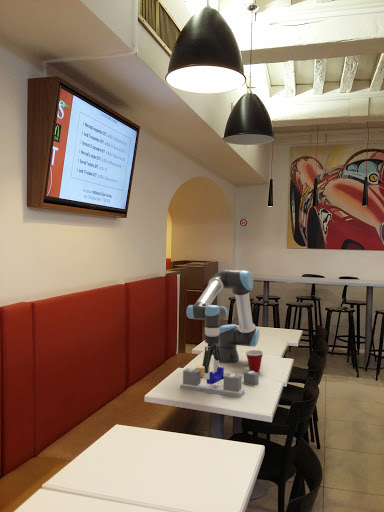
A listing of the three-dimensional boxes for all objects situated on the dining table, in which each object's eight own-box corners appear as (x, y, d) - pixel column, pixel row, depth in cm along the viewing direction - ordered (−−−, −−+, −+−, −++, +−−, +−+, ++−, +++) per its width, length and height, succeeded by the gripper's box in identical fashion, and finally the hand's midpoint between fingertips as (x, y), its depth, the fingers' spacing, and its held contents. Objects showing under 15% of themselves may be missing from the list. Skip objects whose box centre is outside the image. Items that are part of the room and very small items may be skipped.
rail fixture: (185, 384, 250) (185, 367, 249) (244, 393, 236) (244, 374, 235) (179, 388, 244) (180, 370, 243) (240, 397, 230) (240, 378, 229)
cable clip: (216, 377, 245) (216, 366, 245) (223, 378, 243) (223, 367, 242) (204, 382, 235) (204, 371, 235) (211, 384, 233) (211, 372, 233)
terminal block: (196, 374, 270) (196, 365, 270) (206, 374, 269) (206, 366, 269) (195, 376, 266) (195, 367, 265) (205, 377, 265) (205, 368, 264)
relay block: (247, 381, 257) (247, 370, 257) (258, 383, 253) (258, 372, 253) (243, 383, 253) (243, 371, 253) (254, 385, 249) (255, 374, 249)
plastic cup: (241, 370, 279) (241, 350, 278) (256, 368, 283) (257, 349, 283) (251, 375, 269) (251, 354, 268) (266, 372, 273) (266, 352, 273)
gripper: (214, 330, 252) (213, 368, 252) (196, 338, 229) (195, 380, 230) (226, 331, 248) (226, 370, 249) (209, 340, 226) (209, 382, 227)
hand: (211, 375), depth 239 cm, fingers closed on cable clip, 12 cm apart
